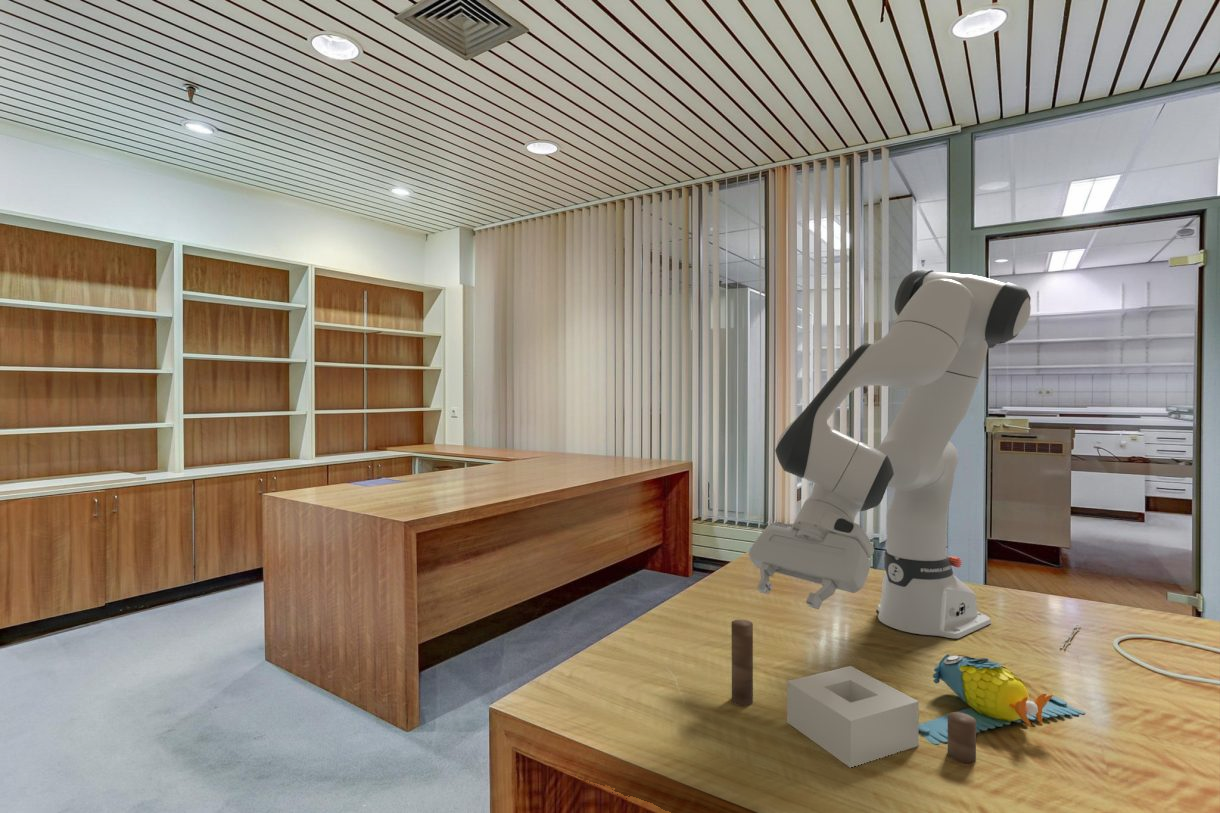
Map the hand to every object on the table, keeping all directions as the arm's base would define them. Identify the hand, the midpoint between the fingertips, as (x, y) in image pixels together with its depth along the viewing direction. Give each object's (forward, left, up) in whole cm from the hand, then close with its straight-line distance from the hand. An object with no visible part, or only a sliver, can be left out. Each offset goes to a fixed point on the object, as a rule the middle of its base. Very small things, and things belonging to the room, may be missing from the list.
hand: (786, 598), depth 100 cm
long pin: (+9, +1, -14) cm, 17 cm away
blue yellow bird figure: (-21, +19, -15) cm, 32 cm away
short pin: (-8, +25, -14) cm, 30 cm away
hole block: (+1, +15, -14) cm, 21 cm away
